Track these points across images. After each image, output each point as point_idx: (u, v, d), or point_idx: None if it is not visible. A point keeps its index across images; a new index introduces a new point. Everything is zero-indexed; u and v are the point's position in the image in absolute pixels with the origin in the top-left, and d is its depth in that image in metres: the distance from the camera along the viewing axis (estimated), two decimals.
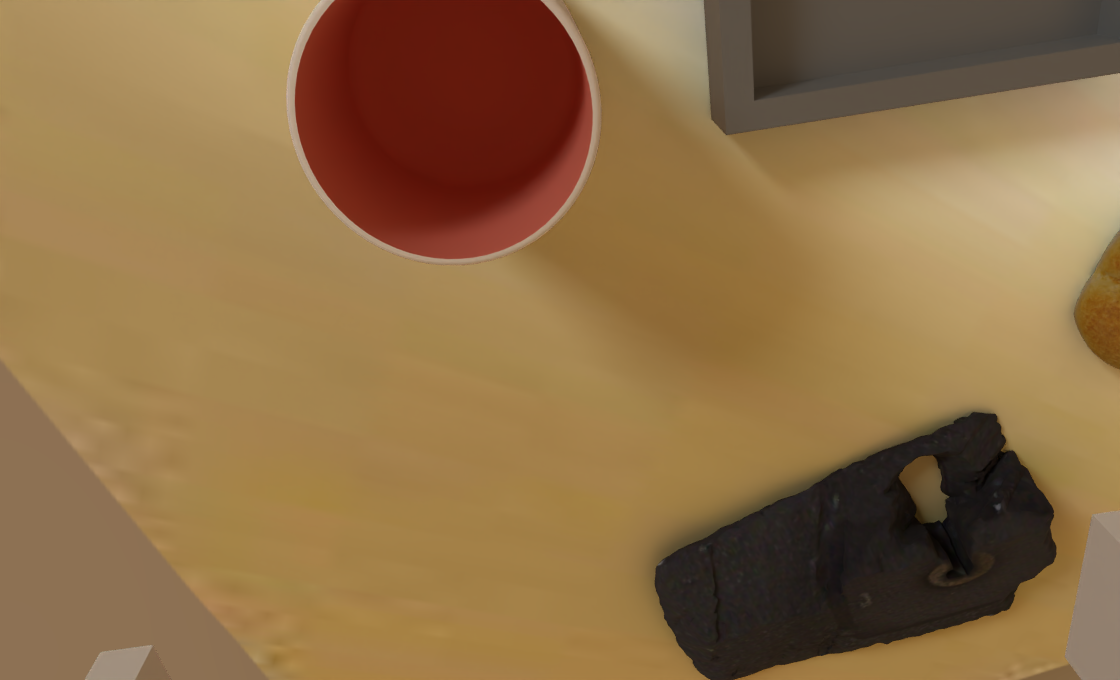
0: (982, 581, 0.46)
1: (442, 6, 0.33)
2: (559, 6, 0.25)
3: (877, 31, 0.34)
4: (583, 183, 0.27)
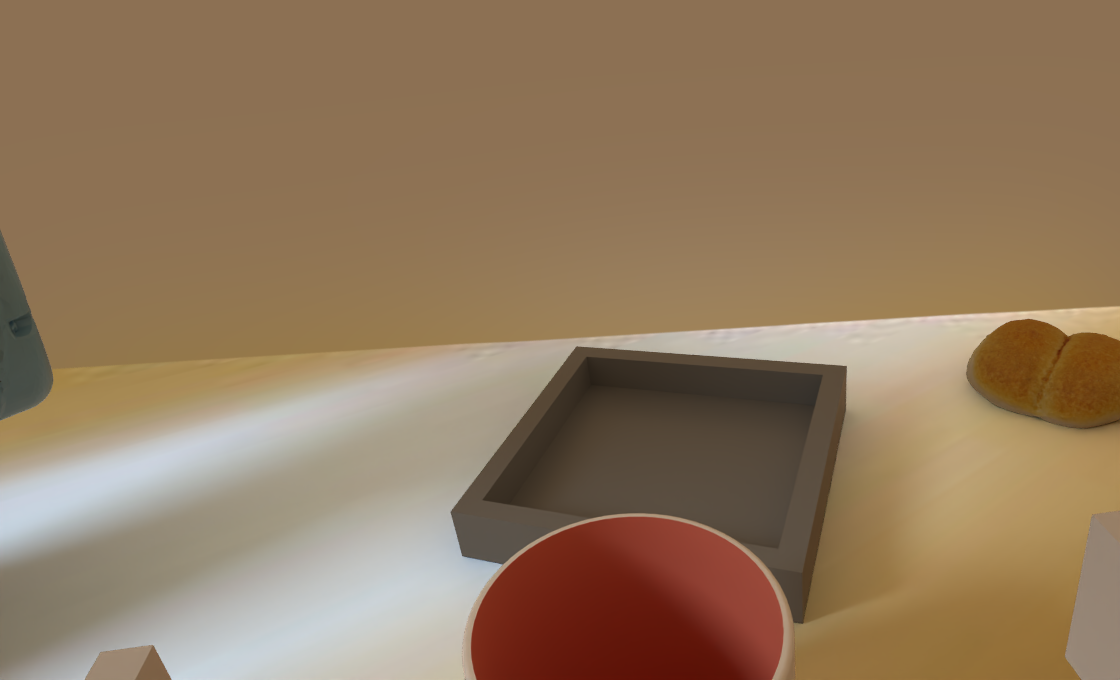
0: None
1: None
2: (587, 519, 0.29)
3: (768, 500, 0.42)
4: (741, 544, 0.27)
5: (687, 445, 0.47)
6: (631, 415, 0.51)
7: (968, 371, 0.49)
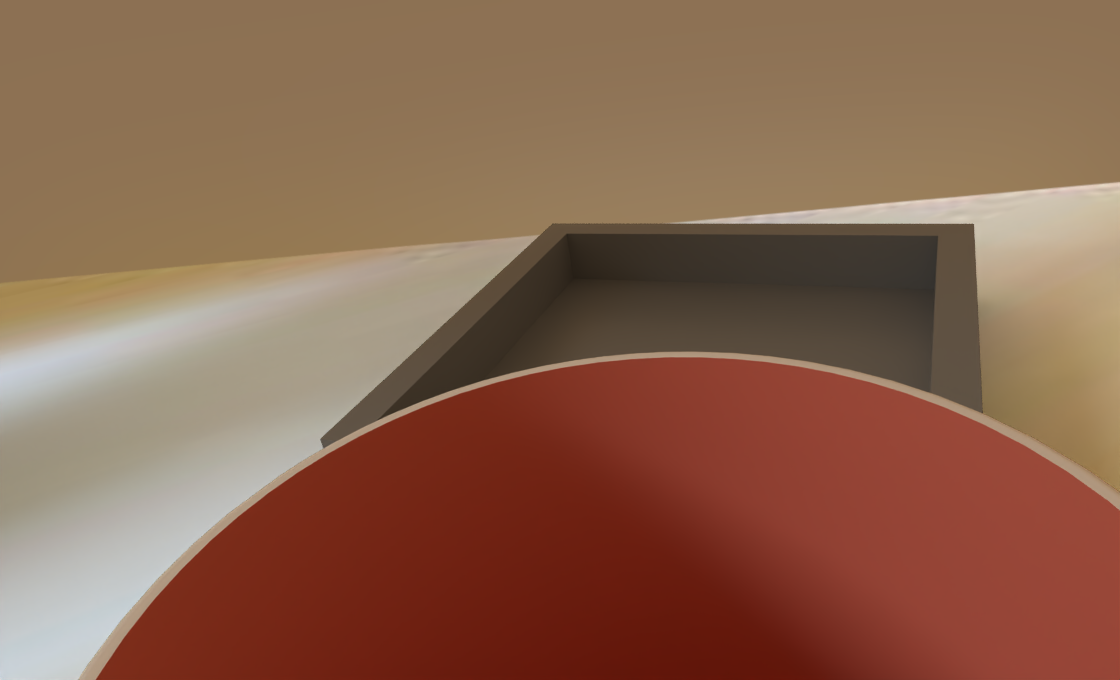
0: None
1: None
2: (523, 371, 0.11)
3: None
4: None
5: (723, 346, 0.30)
6: (633, 312, 0.33)
7: None
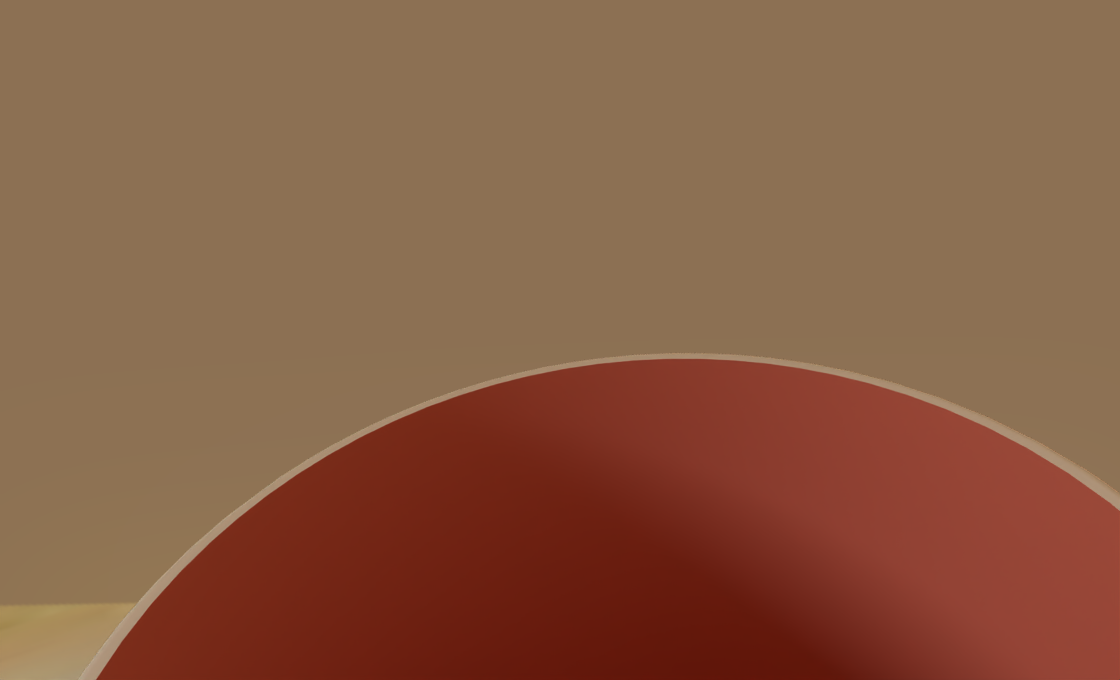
0: None
1: None
2: None
3: None
4: None
5: None
6: None
7: None
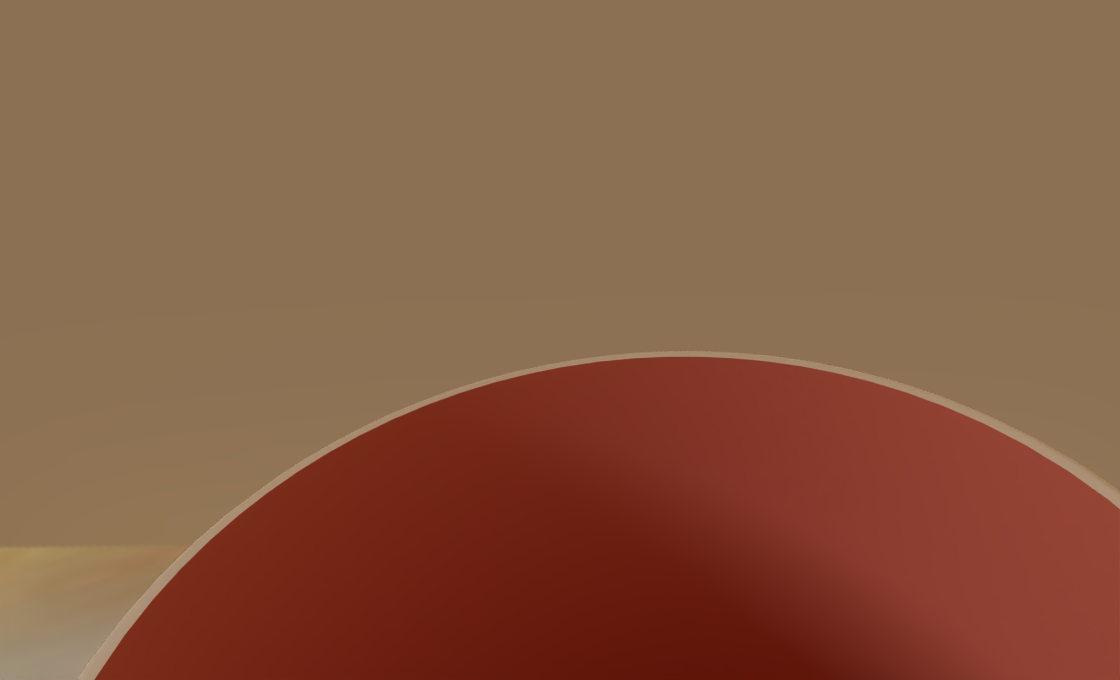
0: None
1: None
2: (523, 370, 0.11)
3: None
4: (962, 404, 0.09)
5: None
6: None
7: None
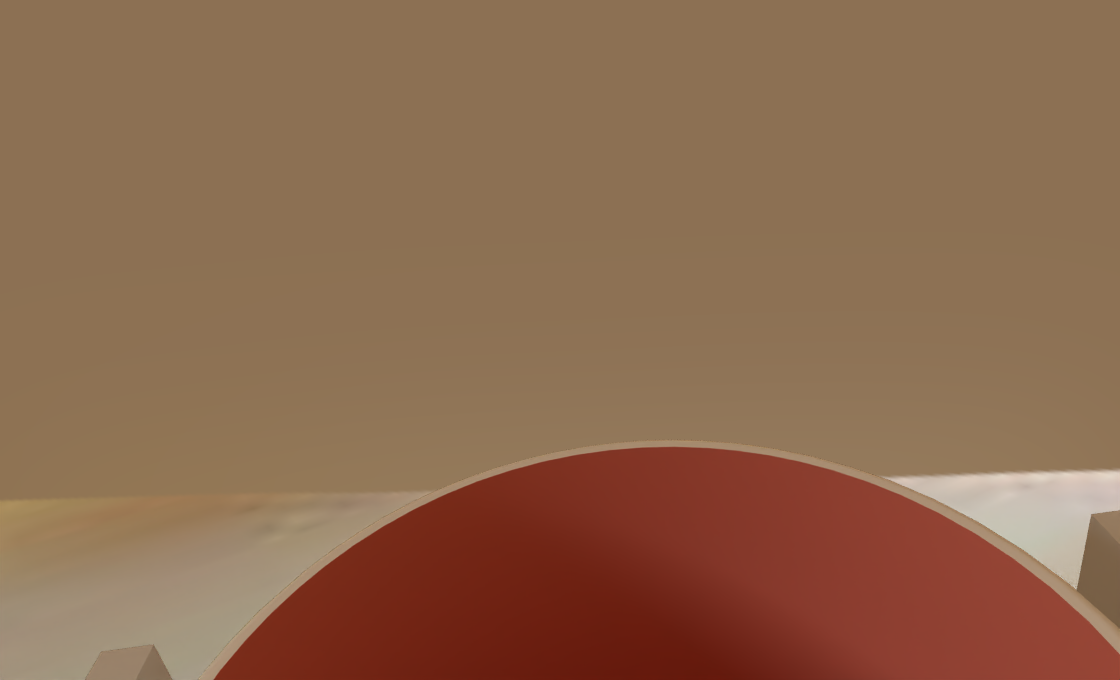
0: None
1: None
2: (537, 456, 0.12)
3: None
4: None
5: None
6: None
7: None
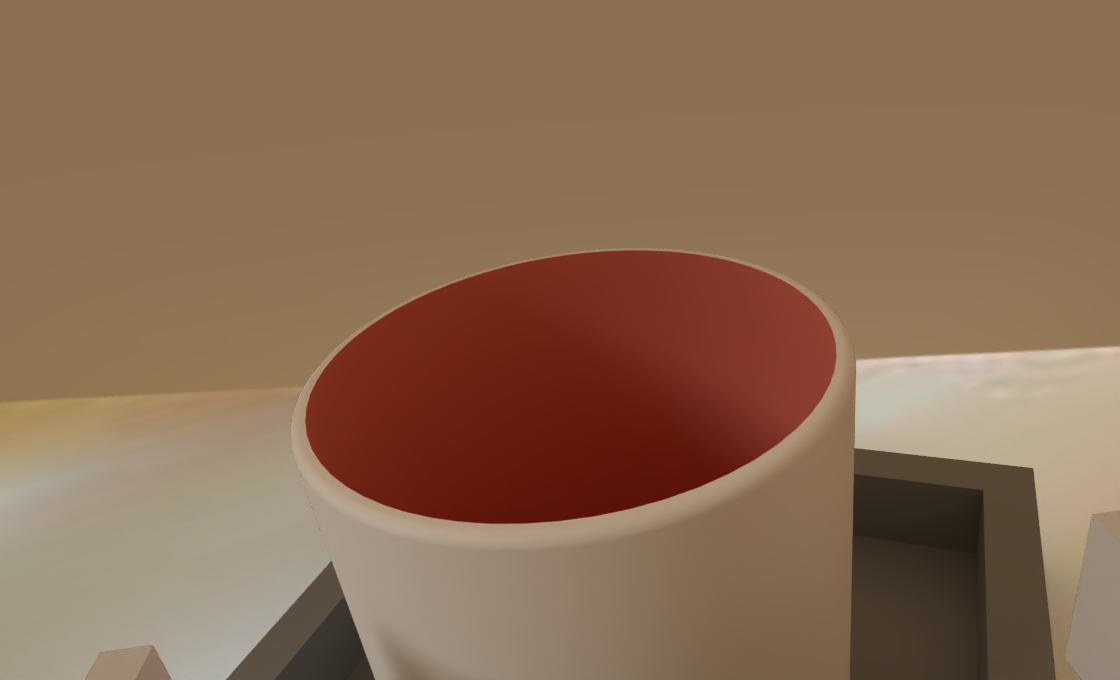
0: None
1: None
2: None
3: None
4: None
5: None
6: None
7: None
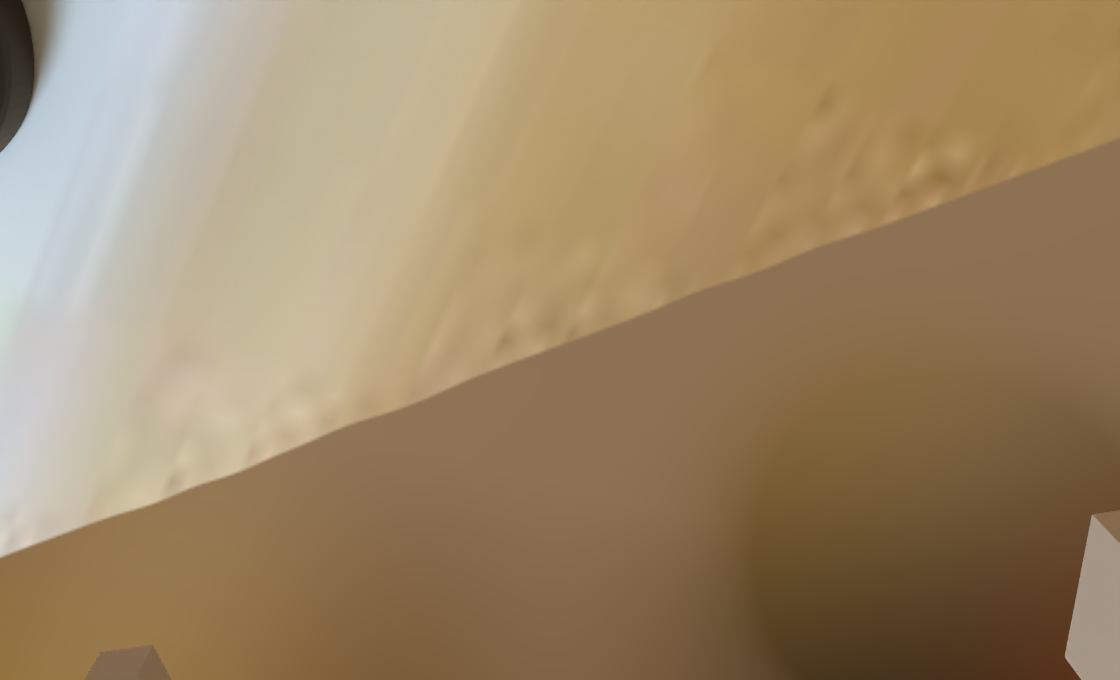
0: None
1: None
2: None
3: None
4: None
5: None
6: None
7: None
